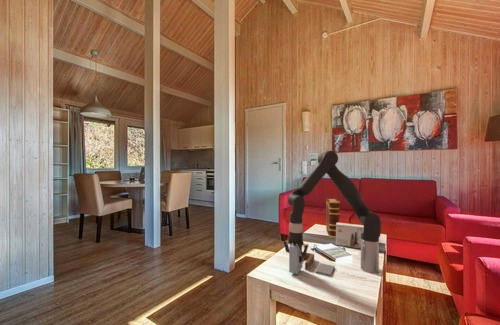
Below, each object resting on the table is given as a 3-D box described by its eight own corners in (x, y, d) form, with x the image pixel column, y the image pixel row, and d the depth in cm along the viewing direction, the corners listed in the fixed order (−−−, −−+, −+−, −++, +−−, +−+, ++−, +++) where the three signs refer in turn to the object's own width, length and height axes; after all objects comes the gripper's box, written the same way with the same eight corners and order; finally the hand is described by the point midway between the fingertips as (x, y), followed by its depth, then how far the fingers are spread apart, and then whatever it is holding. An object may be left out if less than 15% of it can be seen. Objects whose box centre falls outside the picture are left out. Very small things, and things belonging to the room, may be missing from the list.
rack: (314, 260, 145) (314, 253, 145) (307, 270, 131) (307, 263, 131) (297, 256, 150) (297, 250, 150) (289, 266, 136) (290, 259, 136)
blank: (302, 267, 131) (302, 242, 131) (297, 274, 123) (297, 247, 123) (294, 265, 133) (294, 241, 133) (289, 272, 125) (289, 246, 126)
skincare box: (335, 245, 172) (336, 223, 172) (336, 242, 177) (336, 222, 177) (367, 249, 164) (367, 227, 164) (366, 246, 169) (366, 225, 169)
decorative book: (339, 238, 188) (340, 201, 188) (329, 237, 190) (329, 201, 190) (335, 230, 210) (335, 197, 210) (326, 229, 212) (326, 197, 212)
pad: (334, 267, 135) (334, 266, 135) (330, 276, 124) (330, 274, 124) (320, 264, 138) (320, 263, 138) (315, 272, 128) (315, 271, 128)
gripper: (310, 230, 128) (310, 261, 128) (286, 227, 135) (285, 256, 135) (306, 234, 122) (306, 266, 122) (281, 230, 129) (281, 261, 129)
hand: (295, 261), depth 128 cm, fingers closed on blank, 4 cm apart
